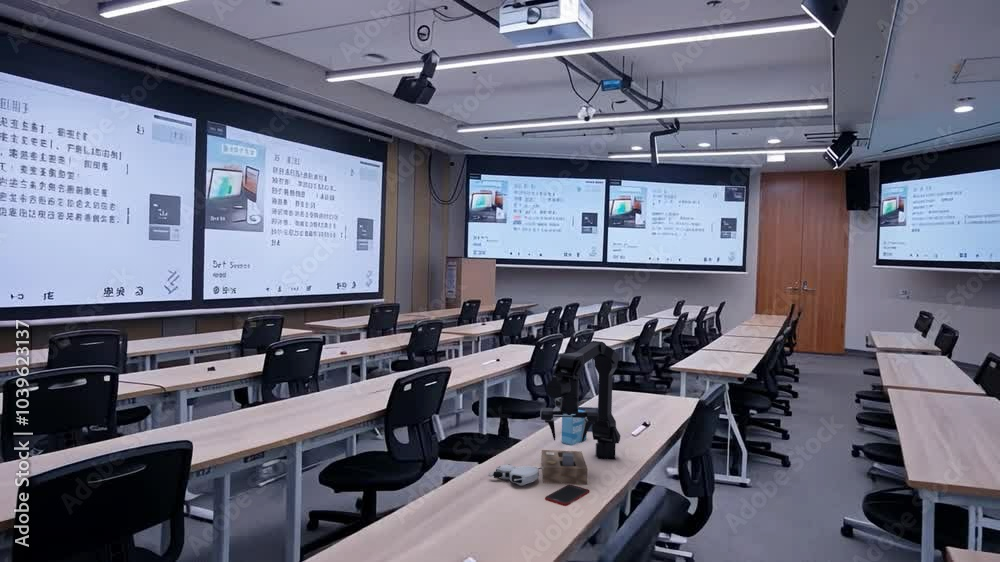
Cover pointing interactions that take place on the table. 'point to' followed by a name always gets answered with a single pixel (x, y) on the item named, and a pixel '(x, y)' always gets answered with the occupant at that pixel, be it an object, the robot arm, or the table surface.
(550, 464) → the socket box
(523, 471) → the robot toy
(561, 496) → the cell phone
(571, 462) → the plug
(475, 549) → the table surface
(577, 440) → the data package
